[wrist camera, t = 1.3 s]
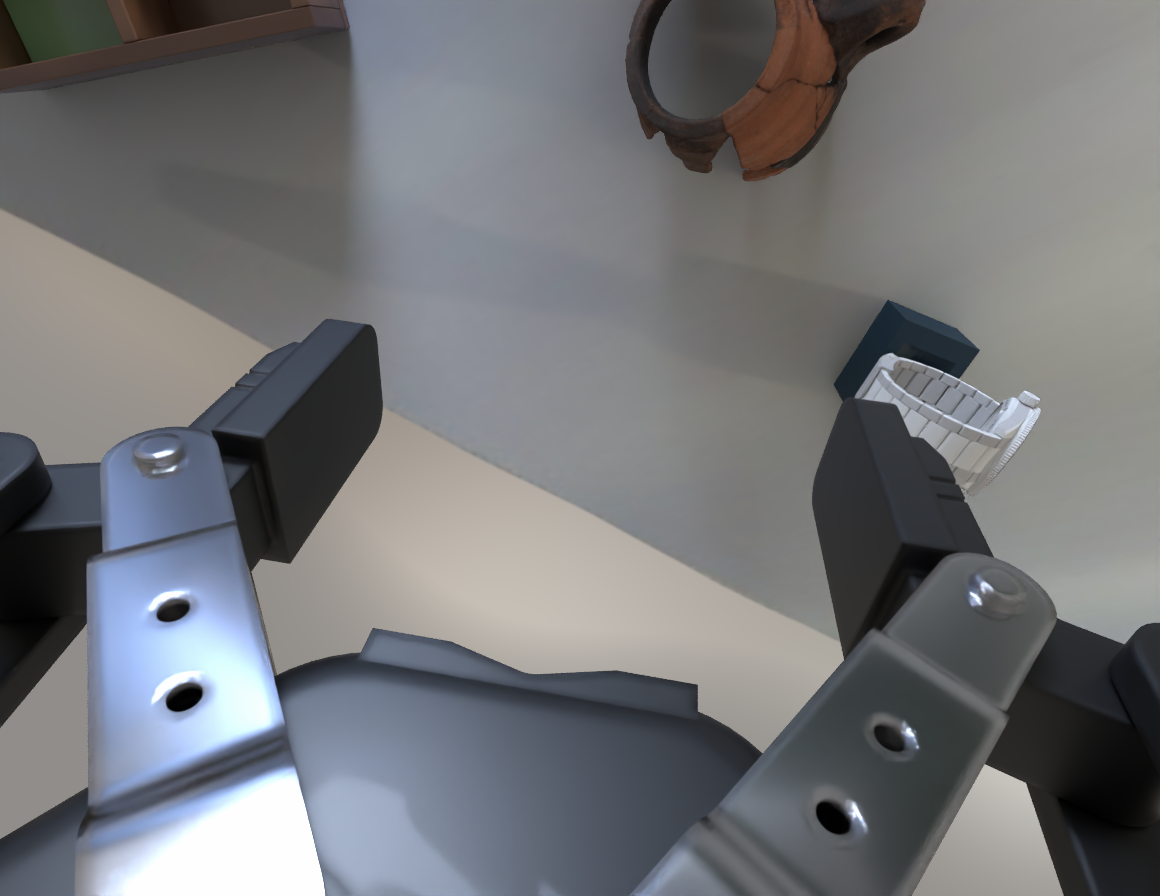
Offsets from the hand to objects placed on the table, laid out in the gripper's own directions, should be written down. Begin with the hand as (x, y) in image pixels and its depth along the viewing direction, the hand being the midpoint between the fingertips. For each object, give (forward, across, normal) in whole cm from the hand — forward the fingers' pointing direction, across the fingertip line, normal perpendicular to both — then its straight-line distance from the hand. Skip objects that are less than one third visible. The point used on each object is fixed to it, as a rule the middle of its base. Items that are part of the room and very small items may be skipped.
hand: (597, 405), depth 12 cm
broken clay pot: (+28, -4, -3) cm, 29 cm away
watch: (+27, -15, +11) cm, 33 cm away
